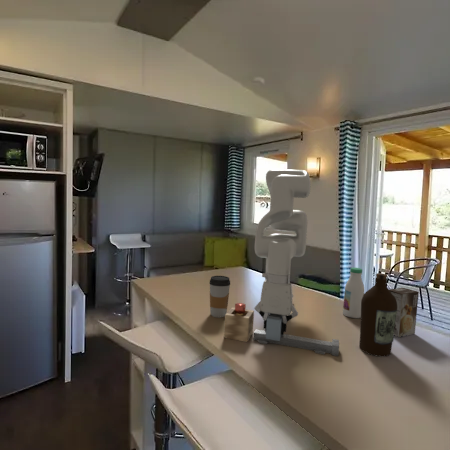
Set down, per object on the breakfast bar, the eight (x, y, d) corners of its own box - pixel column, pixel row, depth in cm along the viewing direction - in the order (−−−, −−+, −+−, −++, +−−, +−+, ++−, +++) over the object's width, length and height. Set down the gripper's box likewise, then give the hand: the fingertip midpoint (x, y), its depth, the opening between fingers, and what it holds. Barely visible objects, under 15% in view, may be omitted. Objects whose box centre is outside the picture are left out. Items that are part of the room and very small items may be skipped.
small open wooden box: (224, 337, 115) (225, 314, 114) (230, 329, 122) (232, 307, 122) (247, 341, 112) (248, 318, 112) (252, 332, 120) (254, 310, 119)
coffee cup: (226, 319, 131) (228, 281, 130) (205, 317, 133) (207, 279, 132) (230, 312, 140) (232, 276, 138) (210, 310, 141) (212, 274, 140)
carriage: (265, 339, 111) (267, 316, 110) (269, 331, 118) (270, 310, 117) (279, 341, 110) (280, 318, 109) (282, 333, 116) (284, 312, 116)
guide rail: (252, 341, 113) (252, 332, 113) (256, 334, 119) (256, 325, 118) (338, 357, 105) (339, 346, 104) (338, 348, 110) (338, 339, 110)
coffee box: (399, 327, 132) (403, 287, 130) (415, 334, 126) (419, 291, 124) (383, 331, 127) (387, 289, 126) (399, 338, 122) (403, 293, 120)
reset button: (240, 317, 119) (241, 302, 119) (246, 320, 116) (247, 305, 116) (232, 319, 117) (232, 303, 117) (238, 322, 114) (239, 307, 114)
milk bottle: (362, 314, 145) (366, 268, 143) (361, 320, 138) (365, 271, 136) (343, 311, 148) (347, 265, 146) (341, 316, 141) (345, 268, 139)
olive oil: (350, 343, 115) (356, 270, 113) (378, 341, 117) (384, 270, 115) (370, 358, 105) (378, 278, 102) (400, 356, 107) (408, 278, 105)
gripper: (250, 277, 111) (247, 332, 112) (303, 284, 106) (299, 341, 107) (255, 273, 118) (252, 324, 120) (305, 278, 113) (301, 332, 115)
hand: (274, 331), depth 113 cm, fingers closed on carriage, 4 cm apart
